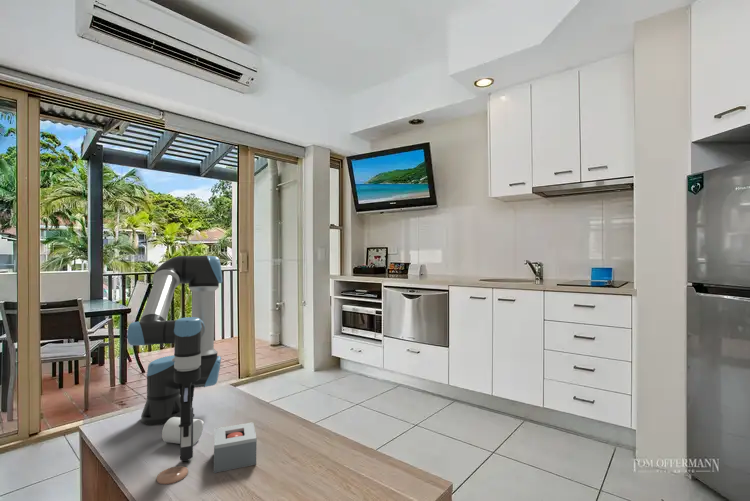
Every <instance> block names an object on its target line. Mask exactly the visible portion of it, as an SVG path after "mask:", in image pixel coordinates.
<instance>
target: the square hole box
mask: <svg viewBox="0 0 750 501" xmlns="http://www.w3.org/2000/svg"><path fill="white" fill-rule="evenodd" d="M233 432H241V433H242V434H243V436H239V437H233V438H227V436H228V435H229V434H230V433H233ZM213 436H214V438H213V440H214V442H213V474H217V473H220V472H226V471H230V470H235V469H241V468H245V467H250V466H254V465H255V466H256V465H257V442H258V441H257V434H256V428H255V425H254V422H253V421H252V422H246V423H240V424H234V425H228V426H222V427H214V435H213Z"/></svg>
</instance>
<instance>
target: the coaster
mask: <svg viewBox="0 0 750 501" xmlns="http://www.w3.org/2000/svg"><path fill="white" fill-rule="evenodd" d="M188 474H189V469H188V467H186V466H183V465H182V466H181V465H179V466H173V467H168V468H166V469H163V470H162V471H161V472H159V473H158V475H157V477H156V482H157V483H158V484H161V485H171V484H175V483H177V482H181V481H182V480H184V478H186V477H188Z"/></svg>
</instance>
